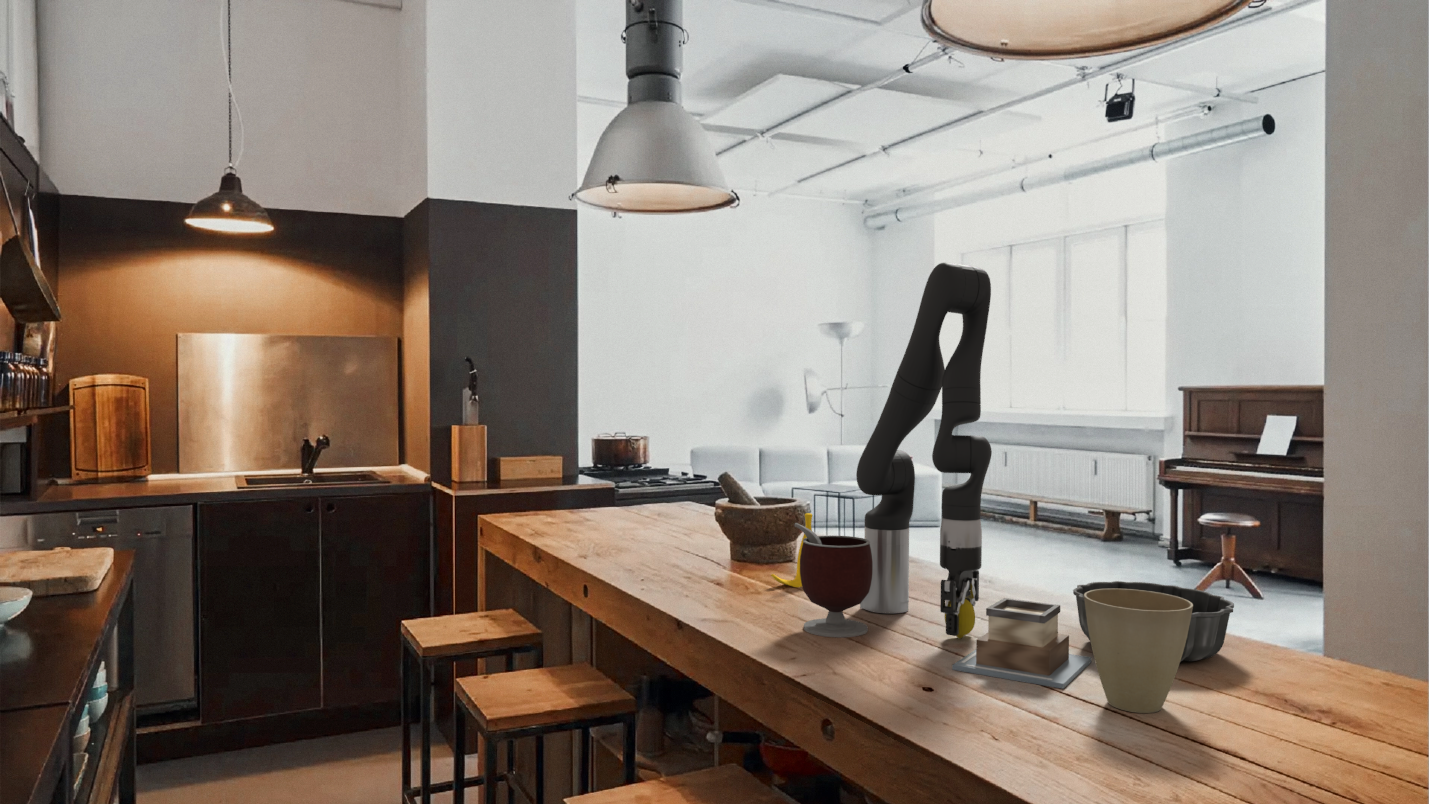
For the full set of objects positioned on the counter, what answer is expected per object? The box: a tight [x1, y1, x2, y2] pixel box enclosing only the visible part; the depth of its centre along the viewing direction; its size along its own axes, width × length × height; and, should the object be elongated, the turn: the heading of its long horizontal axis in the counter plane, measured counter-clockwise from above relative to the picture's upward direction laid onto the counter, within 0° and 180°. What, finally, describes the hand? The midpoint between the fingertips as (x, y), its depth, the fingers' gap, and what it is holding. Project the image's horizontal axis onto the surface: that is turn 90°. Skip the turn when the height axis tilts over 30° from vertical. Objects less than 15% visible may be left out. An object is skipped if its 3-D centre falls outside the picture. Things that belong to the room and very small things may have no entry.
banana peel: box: [770, 512, 813, 588], centre depth 235 cm, size 17×19×17 cm
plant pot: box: [1084, 588, 1193, 714], centre depth 149 cm, size 15×15×16 cm
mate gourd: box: [793, 522, 873, 638], centre depth 193 cm, size 16×14×20 cm
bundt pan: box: [1072, 580, 1235, 663], centre depth 179 cm, size 26×26×10 cm
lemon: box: [944, 599, 976, 640], centre depth 186 cm, size 6×6×8 cm
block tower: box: [975, 597, 1070, 676], centre depth 169 cm, size 12×12×9 cm
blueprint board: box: [951, 649, 1092, 690], centre depth 169 cm, size 18×18×1 cm
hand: (959, 630), depth 186 cm, fingers open, 7 cm apart
